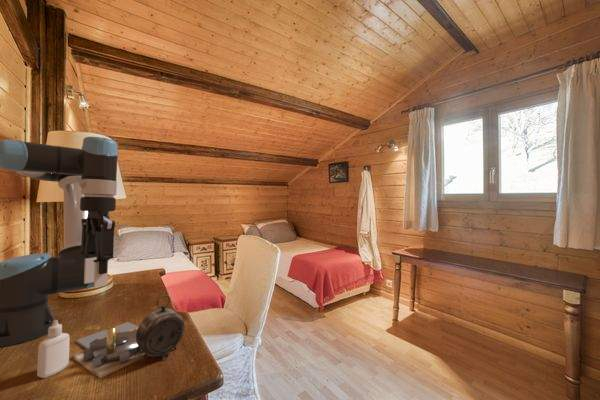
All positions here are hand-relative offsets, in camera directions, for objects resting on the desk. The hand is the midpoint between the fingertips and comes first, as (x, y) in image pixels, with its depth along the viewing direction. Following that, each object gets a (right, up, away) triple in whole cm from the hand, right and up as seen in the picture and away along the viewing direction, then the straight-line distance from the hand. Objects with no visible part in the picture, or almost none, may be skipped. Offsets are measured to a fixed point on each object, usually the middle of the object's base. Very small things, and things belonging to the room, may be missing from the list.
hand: (95, 283), depth 69 cm
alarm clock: (+18, -19, 0) cm, 26 cm away
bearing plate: (+6, -19, +1) cm, 20 cm away
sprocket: (+6, -18, +1) cm, 19 cm away
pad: (-3, -19, +10) cm, 21 cm away
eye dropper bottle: (-5, -19, -7) cm, 20 cm away
